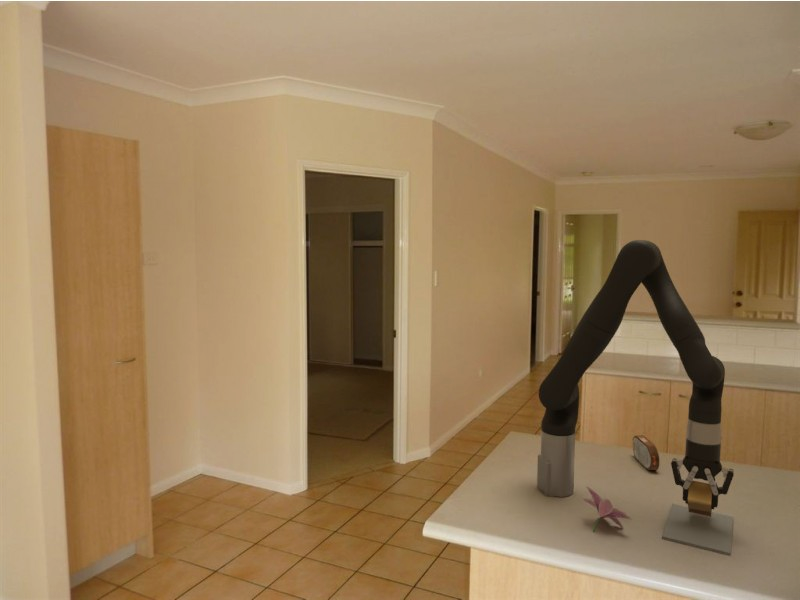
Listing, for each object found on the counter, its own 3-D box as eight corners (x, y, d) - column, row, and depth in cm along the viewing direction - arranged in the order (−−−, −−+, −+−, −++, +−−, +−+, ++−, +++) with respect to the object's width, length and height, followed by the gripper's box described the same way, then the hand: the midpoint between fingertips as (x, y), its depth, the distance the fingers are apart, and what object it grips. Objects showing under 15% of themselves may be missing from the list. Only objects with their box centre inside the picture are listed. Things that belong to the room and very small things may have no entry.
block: (711, 516, 141) (710, 503, 136) (688, 511, 143) (687, 498, 138) (712, 497, 144) (712, 484, 138) (690, 493, 146) (689, 479, 141)
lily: (633, 547, 132) (643, 506, 135) (588, 529, 131) (598, 488, 134) (606, 537, 144) (616, 500, 146) (564, 521, 143) (575, 483, 146)
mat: (730, 555, 127) (730, 552, 127) (661, 538, 134) (661, 536, 134) (732, 518, 144) (733, 516, 144) (672, 505, 151) (672, 503, 151)
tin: (660, 474, 172) (661, 447, 171) (649, 474, 172) (650, 447, 171) (640, 456, 187) (641, 431, 186) (630, 456, 187) (631, 431, 186)
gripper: (669, 437, 139) (666, 504, 140) (737, 448, 131) (733, 518, 133) (672, 428, 145) (669, 493, 147) (738, 439, 137) (734, 506, 139)
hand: (699, 505), depth 140 cm, fingers closed on block, 5 cm apart
